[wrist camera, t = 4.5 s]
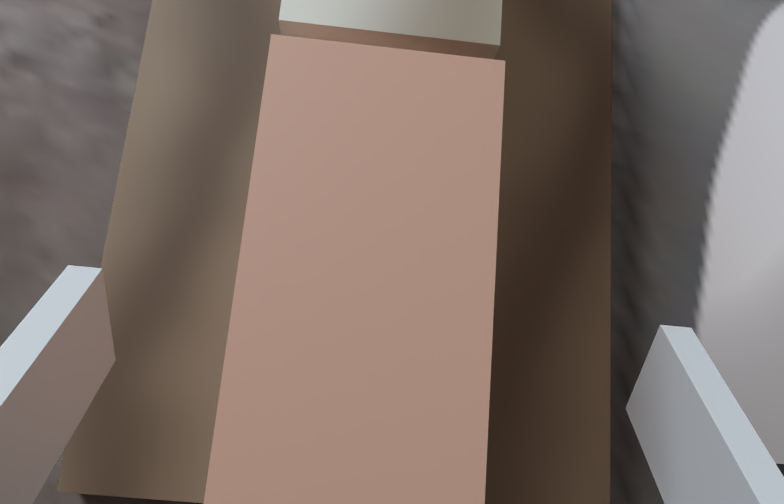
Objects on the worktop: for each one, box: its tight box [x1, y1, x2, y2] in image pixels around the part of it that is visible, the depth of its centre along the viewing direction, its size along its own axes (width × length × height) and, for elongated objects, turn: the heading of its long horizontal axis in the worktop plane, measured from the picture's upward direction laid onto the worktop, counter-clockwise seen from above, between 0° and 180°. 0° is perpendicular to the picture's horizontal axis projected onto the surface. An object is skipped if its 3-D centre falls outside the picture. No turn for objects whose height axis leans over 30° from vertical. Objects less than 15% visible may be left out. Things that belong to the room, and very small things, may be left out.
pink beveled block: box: [204, 34, 505, 504], centre depth 16 cm, size 4×8×12 cm, turn 175°
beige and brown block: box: [56, 0, 612, 504], centre depth 19 cm, size 18×26×14 cm
